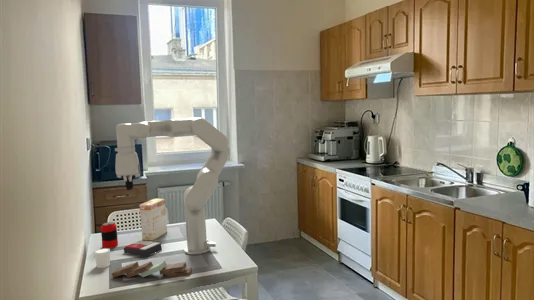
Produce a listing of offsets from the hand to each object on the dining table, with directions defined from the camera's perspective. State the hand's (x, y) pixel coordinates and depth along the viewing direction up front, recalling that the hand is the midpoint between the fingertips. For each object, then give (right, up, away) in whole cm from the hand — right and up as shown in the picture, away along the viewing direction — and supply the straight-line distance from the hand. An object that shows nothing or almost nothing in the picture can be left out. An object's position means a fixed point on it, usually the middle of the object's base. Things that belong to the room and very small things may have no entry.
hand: (129, 189), depth 193 cm
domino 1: (-1, -34, -16) cm, 38 cm away
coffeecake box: (+2, -30, +37) cm, 48 cm away
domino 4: (+19, -32, -18) cm, 42 cm away
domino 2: (+6, -34, -17) cm, 38 cm away
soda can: (-18, -32, +23) cm, 43 cm away
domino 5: (+22, -34, -17) cm, 44 cm away
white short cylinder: (-11, -35, -4) cm, 36 cm away
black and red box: (+2, -33, +13) cm, 35 cm away
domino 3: (+12, -34, -18) cm, 40 cm away
